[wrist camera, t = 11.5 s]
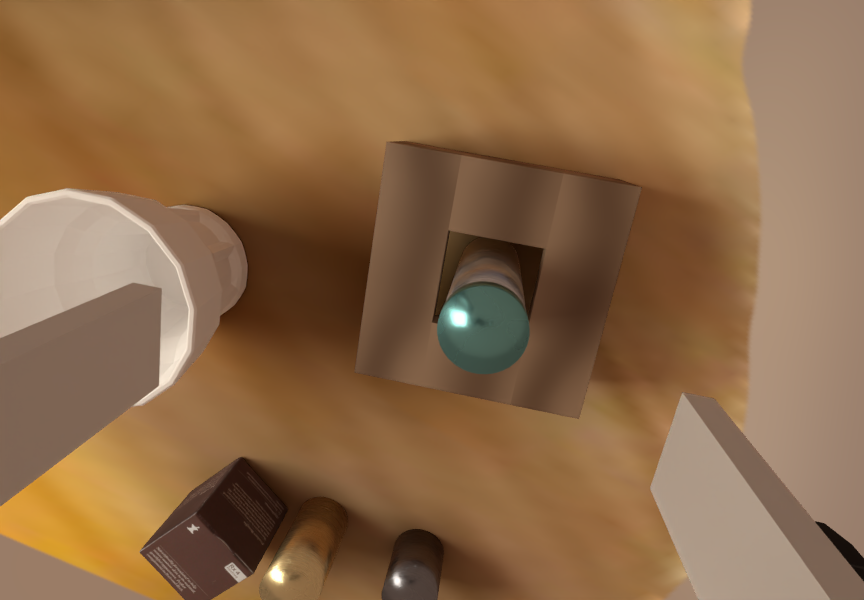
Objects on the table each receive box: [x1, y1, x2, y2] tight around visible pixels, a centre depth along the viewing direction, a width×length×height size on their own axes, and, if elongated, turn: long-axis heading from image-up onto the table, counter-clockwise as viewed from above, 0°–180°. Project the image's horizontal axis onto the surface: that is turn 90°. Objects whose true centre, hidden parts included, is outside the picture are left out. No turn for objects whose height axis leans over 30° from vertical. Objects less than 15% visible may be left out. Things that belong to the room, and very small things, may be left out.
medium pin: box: [259, 497, 348, 600], centre depth 42 cm, size 4×4×8 cm
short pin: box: [382, 529, 444, 600], centre depth 43 cm, size 4×4×5 cm
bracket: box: [355, 141, 642, 419], centre depth 36 cm, size 14×14×6 cm
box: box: [140, 457, 288, 600], centre depth 43 cm, size 6×6×7 cm
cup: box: [0, 188, 248, 407], centre depth 36 cm, size 12×12×11 cm
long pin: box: [437, 237, 530, 374], centre depth 32 cm, size 4×4×14 cm
